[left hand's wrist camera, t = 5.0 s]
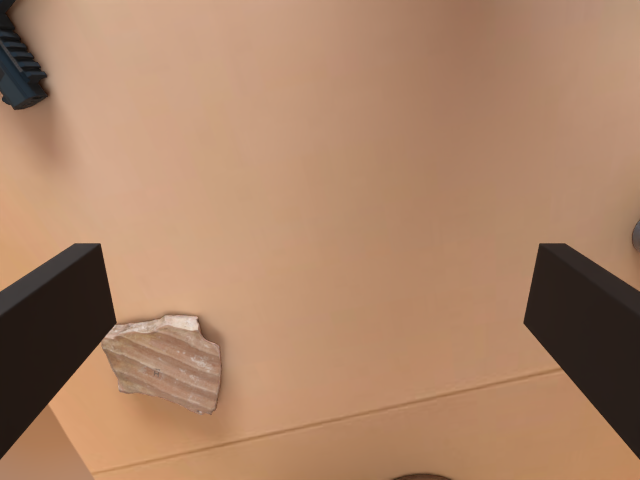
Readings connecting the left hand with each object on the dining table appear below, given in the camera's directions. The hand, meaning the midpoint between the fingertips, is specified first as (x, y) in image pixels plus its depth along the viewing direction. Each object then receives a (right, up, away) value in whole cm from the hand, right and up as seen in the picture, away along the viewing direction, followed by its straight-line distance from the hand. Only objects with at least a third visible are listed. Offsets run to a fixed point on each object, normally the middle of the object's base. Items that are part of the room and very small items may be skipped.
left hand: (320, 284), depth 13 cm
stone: (-17, -13, +35) cm, 41 cm away
